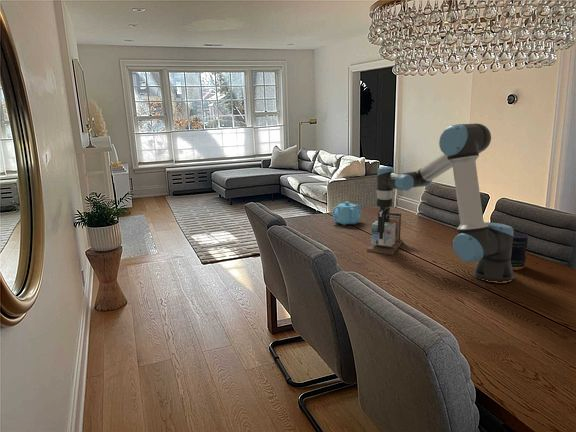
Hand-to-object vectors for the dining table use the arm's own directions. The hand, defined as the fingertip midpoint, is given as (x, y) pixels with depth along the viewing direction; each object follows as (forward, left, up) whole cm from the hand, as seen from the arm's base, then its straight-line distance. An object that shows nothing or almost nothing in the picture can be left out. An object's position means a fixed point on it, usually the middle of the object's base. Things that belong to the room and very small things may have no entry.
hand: (383, 242), depth 225 cm
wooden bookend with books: (+5, 0, -4) cm, 6 cm away
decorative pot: (+42, +34, -4) cm, 54 cm away
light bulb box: (0, 0, -1) cm, 1 cm away
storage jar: (-1, -59, -4) cm, 59 cm away
